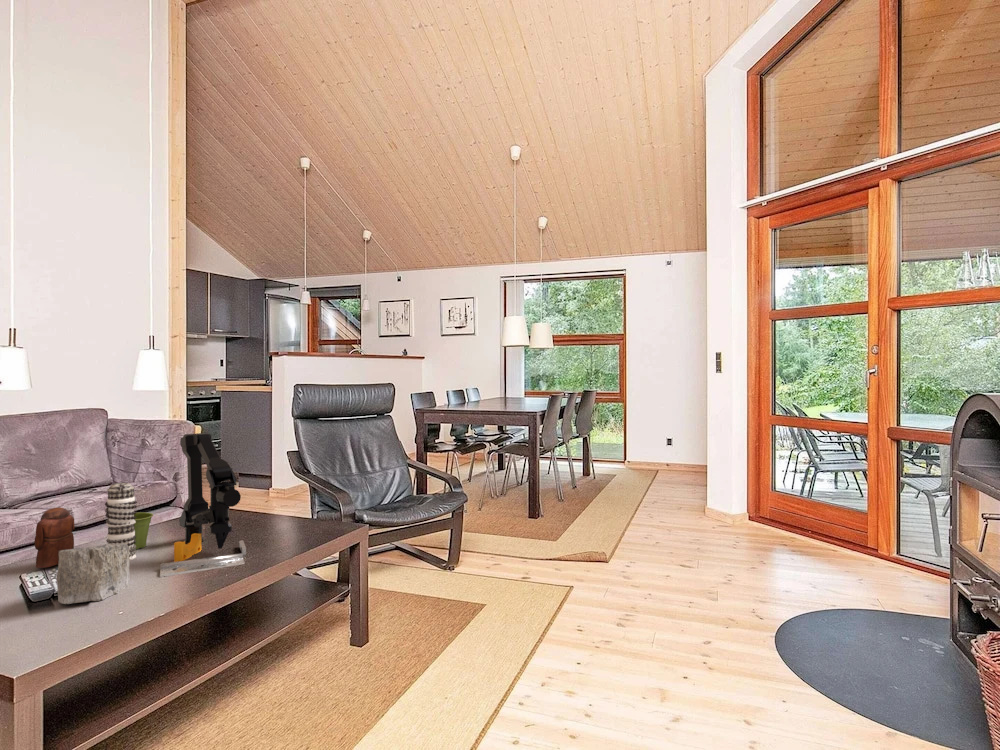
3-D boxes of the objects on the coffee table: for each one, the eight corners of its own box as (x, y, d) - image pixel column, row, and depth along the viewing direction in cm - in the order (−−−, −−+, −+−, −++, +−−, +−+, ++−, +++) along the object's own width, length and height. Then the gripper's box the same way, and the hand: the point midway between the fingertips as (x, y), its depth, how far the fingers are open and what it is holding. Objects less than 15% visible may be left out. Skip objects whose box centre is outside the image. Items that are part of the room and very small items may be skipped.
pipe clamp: (189, 551, 214) (189, 533, 214) (201, 552, 214) (201, 533, 214) (169, 562, 202) (169, 542, 202) (181, 562, 202) (181, 543, 202)
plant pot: (118, 554, 210) (118, 521, 210) (111, 547, 219) (111, 515, 219) (156, 548, 218) (156, 516, 218) (149, 541, 227) (149, 510, 227)
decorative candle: (118, 563, 200) (118, 487, 200) (98, 561, 203) (98, 485, 203) (143, 556, 208) (143, 482, 208) (123, 553, 212) (123, 480, 211)
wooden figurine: (58, 557, 207) (58, 504, 207) (76, 557, 206) (76, 504, 206) (29, 568, 195) (29, 512, 195) (48, 569, 195) (48, 512, 195)
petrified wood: (120, 577, 186) (119, 528, 186) (143, 590, 175) (142, 538, 175) (45, 595, 172) (45, 542, 172) (65, 610, 161) (65, 553, 161)
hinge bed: (161, 558, 205) (161, 550, 205) (243, 548, 217) (243, 540, 217) (159, 577, 187) (159, 567, 187) (248, 564, 199) (248, 555, 199)
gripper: (192, 499, 214) (192, 544, 214) (193, 510, 197) (194, 558, 197) (227, 496, 219) (227, 540, 219) (231, 506, 202) (231, 553, 202)
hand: (219, 547), depth 209 cm, fingers closed
